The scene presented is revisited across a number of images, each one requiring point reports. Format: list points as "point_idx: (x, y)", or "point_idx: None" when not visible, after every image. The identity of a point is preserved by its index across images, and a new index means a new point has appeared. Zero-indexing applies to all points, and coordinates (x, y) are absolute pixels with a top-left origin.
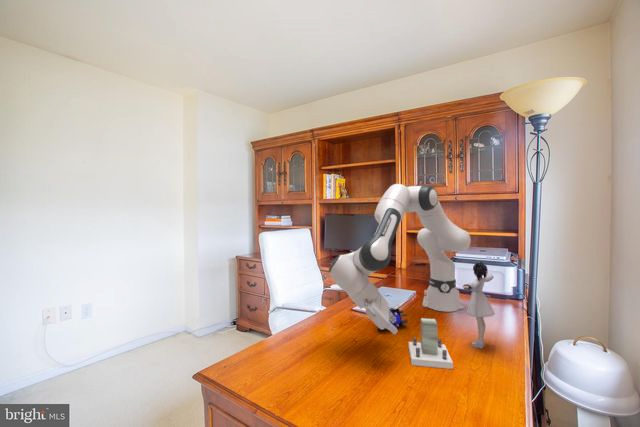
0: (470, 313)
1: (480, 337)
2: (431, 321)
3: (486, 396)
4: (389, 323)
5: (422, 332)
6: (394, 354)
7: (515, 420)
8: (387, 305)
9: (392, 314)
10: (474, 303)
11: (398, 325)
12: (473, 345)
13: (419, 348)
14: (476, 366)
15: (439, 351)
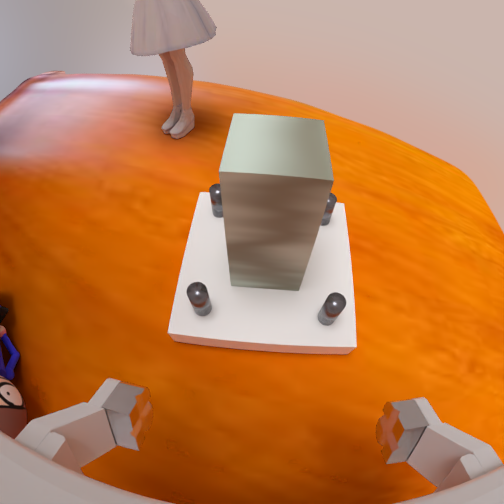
0: (185, 39)
1: (190, 101)
2: (279, 132)
3: (433, 192)
4: (492, 458)
5: (307, 228)
6: (255, 423)
7: (472, 182)
8: (9, 458)
9: (90, 410)
10: (185, 2)
11: (4, 328)
12: (180, 135)
13: (334, 293)
14: None
15: None
